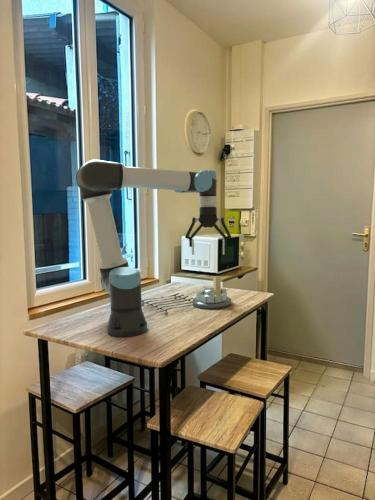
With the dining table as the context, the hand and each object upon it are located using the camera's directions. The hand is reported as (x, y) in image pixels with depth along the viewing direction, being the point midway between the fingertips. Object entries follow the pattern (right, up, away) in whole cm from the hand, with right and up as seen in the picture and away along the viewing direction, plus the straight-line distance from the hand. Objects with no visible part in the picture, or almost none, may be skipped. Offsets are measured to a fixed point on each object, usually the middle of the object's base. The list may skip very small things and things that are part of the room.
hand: (208, 254), depth 172 cm
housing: (+2, -23, +8) cm, 25 cm away
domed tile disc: (+2, -21, +8) cm, 23 cm away
